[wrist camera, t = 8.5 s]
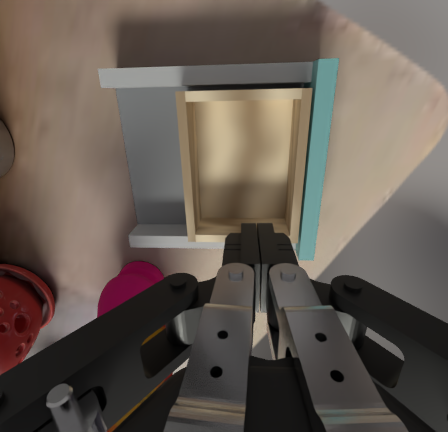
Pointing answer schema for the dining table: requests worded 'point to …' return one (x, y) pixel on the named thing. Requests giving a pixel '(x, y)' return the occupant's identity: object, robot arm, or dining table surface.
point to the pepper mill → (128, 284)
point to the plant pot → (21, 313)
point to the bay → (170, 145)
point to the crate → (243, 159)
